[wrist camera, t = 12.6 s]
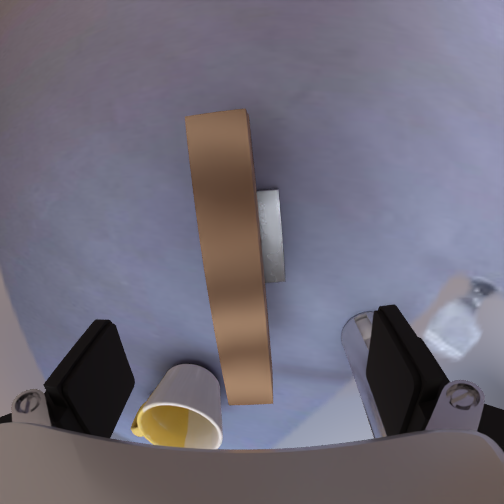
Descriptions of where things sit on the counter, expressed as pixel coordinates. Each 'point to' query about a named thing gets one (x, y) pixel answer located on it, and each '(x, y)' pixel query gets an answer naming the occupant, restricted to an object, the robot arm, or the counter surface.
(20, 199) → the counter surface
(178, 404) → the mug
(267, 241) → the ridge
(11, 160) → the counter surface
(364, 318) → the silver metal cylinder
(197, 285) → the counter surface
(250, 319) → the walnut beam
